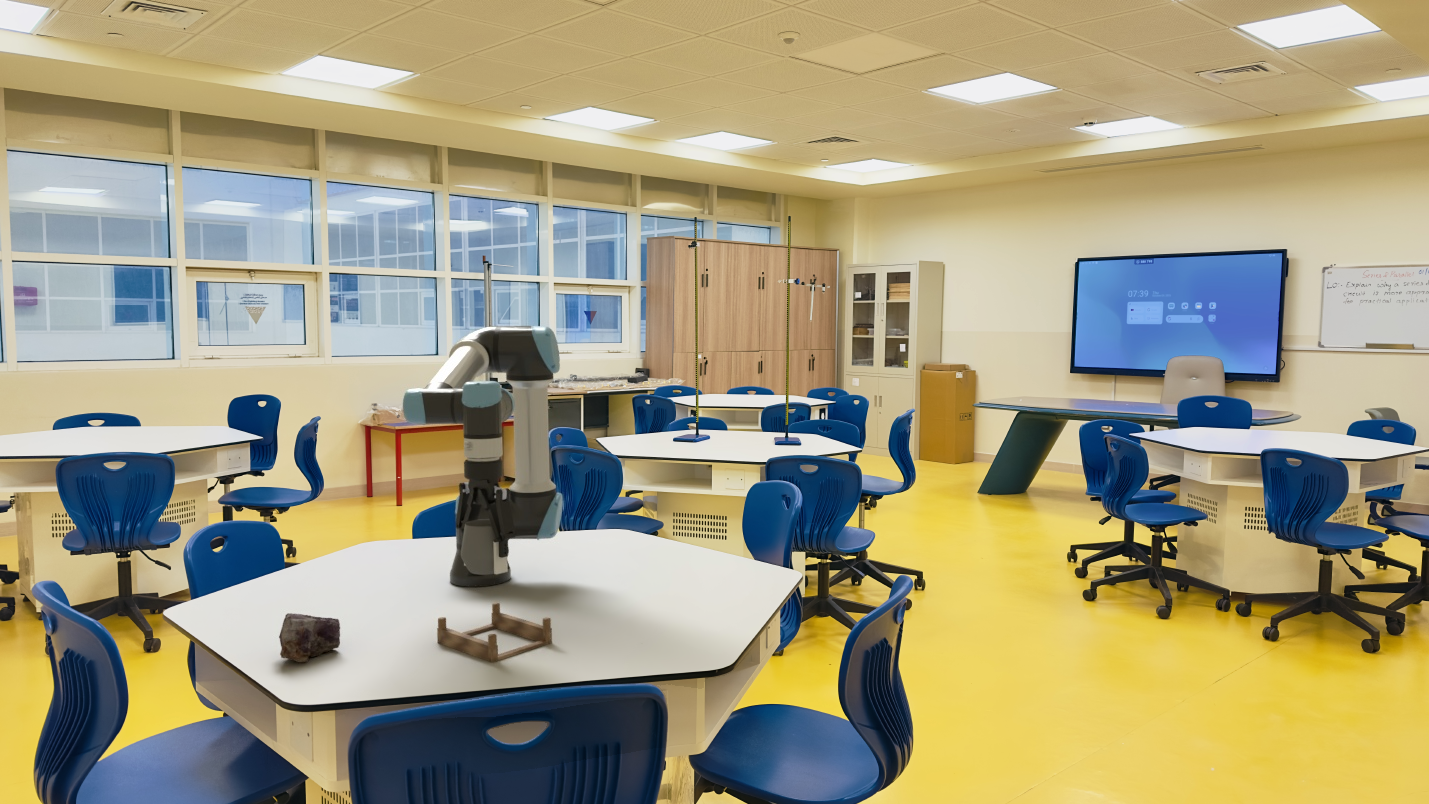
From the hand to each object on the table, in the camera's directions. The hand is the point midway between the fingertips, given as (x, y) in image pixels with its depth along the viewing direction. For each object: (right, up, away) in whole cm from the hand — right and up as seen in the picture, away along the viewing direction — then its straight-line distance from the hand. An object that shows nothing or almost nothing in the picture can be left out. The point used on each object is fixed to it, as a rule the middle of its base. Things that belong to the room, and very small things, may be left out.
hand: (485, 568), depth 187 cm
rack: (+1, -15, +2) cm, 16 cm away
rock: (-34, -16, -6) cm, 38 cm away
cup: (0, -1, 0) cm, 1 cm away
